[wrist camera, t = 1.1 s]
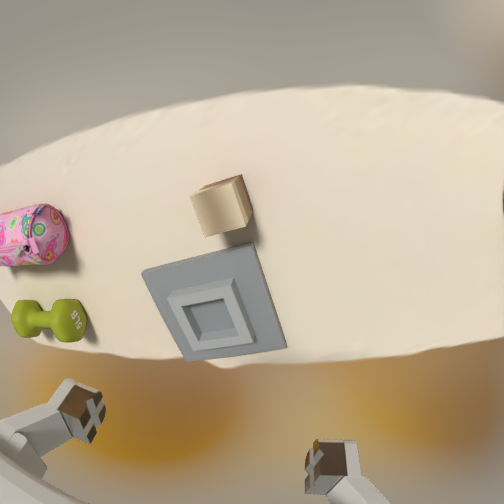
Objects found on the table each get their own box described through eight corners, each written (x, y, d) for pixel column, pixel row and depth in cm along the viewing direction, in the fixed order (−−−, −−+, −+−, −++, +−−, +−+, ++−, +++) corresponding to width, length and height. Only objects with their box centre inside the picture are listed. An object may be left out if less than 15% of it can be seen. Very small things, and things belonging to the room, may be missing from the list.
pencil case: (64, 194, 39) (23, 213, 31) (79, 251, 42) (43, 278, 34) (-6, 212, 42) (-39, 229, 34) (7, 257, 46) (-24, 277, 37)
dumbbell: (40, 325, 51) (20, 344, 45) (25, 291, 48) (2, 309, 42) (95, 328, 48) (75, 353, 42) (78, 289, 45) (54, 312, 39)
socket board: (252, 242, 38) (249, 252, 35) (286, 342, 43) (285, 357, 40) (144, 269, 42) (134, 280, 39) (188, 356, 47) (182, 370, 44)
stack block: (241, 174, 35) (231, 183, 29) (253, 210, 36) (245, 226, 31) (205, 185, 36) (189, 196, 30) (218, 220, 37) (204, 237, 32)
